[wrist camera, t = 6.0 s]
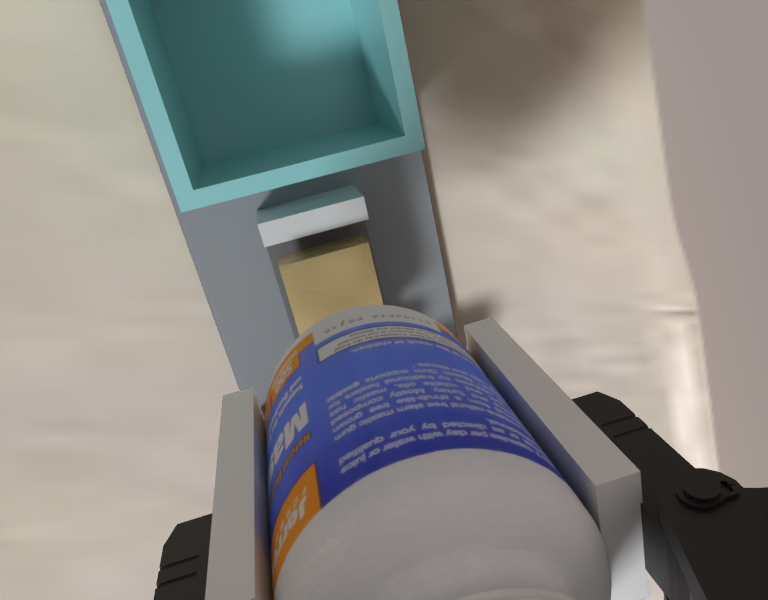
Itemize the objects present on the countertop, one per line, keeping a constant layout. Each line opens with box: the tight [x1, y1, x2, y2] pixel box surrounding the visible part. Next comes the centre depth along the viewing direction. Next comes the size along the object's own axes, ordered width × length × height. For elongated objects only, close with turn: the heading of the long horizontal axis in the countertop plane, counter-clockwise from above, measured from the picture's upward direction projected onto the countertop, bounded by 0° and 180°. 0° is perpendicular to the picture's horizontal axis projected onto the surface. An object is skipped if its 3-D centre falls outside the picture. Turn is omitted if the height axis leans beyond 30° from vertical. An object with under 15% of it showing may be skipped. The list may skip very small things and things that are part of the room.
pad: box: [277, 233, 383, 335], centre depth 22 cm, size 4×3×1 cm
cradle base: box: [257, 185, 385, 340], centre depth 23 cm, size 7×4×2 cm, turn 13°
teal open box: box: [106, 0, 426, 213], centre depth 18 cm, size 7×7×5 cm
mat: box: [99, 0, 457, 408], centre depth 24 cm, size 26×9×1 cm, turn 13°
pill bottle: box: [265, 305, 612, 600], centre depth 12 cm, size 5×5×10 cm
